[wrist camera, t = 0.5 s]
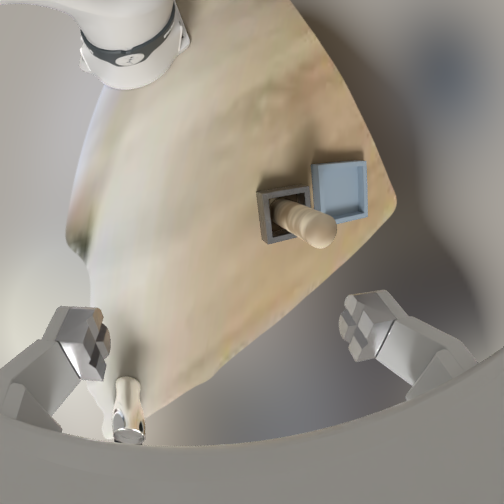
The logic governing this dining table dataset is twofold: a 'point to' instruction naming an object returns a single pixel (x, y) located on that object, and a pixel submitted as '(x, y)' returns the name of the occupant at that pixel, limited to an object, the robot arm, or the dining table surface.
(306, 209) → the peg
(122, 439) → the beer glass
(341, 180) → the tray
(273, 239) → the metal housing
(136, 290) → the dining table surface
